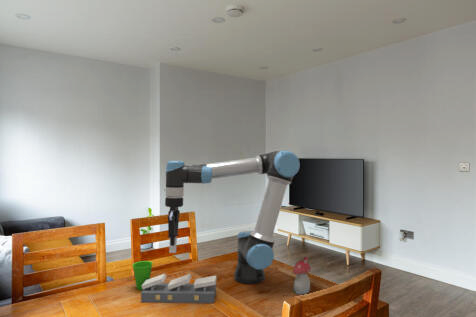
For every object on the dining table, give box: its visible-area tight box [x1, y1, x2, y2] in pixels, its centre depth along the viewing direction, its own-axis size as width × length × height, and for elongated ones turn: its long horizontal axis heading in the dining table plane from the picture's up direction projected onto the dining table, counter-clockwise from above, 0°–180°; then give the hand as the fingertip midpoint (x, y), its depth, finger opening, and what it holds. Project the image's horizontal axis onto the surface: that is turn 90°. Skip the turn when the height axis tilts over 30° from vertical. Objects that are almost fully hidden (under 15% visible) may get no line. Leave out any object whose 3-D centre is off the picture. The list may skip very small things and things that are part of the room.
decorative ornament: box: [292, 256, 312, 296], centre depth 139 cm, size 9×7×15 cm
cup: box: [132, 260, 154, 291], centre depth 143 cm, size 9×9×11 cm
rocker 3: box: [194, 275, 217, 288], centre depth 134 cm, size 9×6×2 cm, turn 89°
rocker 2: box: [168, 273, 192, 290], centre depth 134 cm, size 9×6×2 cm, turn 89°
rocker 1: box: [142, 273, 167, 289], centre depth 134 cm, size 9×6×2 cm, turn 88°
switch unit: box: [140, 282, 217, 304], centre depth 134 cm, size 30×10×5 cm, turn 89°
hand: (172, 252), depth 134 cm, fingers closed
